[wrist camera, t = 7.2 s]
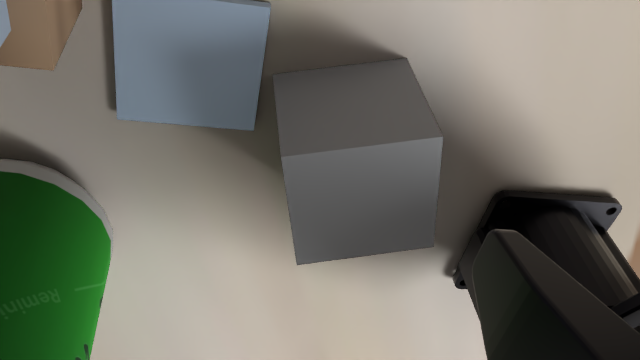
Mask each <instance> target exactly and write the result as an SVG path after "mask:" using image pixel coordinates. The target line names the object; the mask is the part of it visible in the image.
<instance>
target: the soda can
mask: <svg viewBox="0 0 640 360" xmlns="http://www.w3.org/2000/svg"><path fill="white" fill-rule="evenodd" d="M112 249H113V229H112V226H111V224H110V222H109V220H108V217H107V215H106V213H105V211H104V209H103V208H102V207H101V206H100V205H99V204H98V202H97V201H96V200H95V199H94V198H93V197H92V196H91V195H90V194H89V193H88V192H87V191H86V190H85V189H84V188H82V187H81V186H79V185H78V184H77V183H76V182H75V181H73V180H71V179H70V178H68V177H66V176H65V175H63V174H61V173H60V172H58V171H57V170H55V169H52V168H49V167H46V166H43V165H40V164H37V163H34V162H31V161H22V160H13V159H0V360H90V355H91V350H92V345H93V341H94V336H95V331H96V327H97V322H98V317H99V312H100V308H101V303H102V298H103V293H104V289H105V284H106V279H107V274H108V270H109V265H110V260H111V255H112Z"/></svg>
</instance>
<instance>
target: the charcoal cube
mask: <svg viewBox="0 0 640 360" xmlns="http://www.w3.org/2000/svg"><path fill="white" fill-rule="evenodd" d="M273 84H274V94H275V104H276V114H277V124H278V133H279V143H280V153H281V161H282V168H283V175H284V181H285V188H286V195H287V202H288V209H289V215H290V222H291V229H292V236H293V243H294V249H295V256H296V263H297V265H302V264H309V263H317V262H324V261H332V260H339V259H347V258H354V257H361V256H369V255H376V254H384V253H391V252H399V251H406V250H413V249H421V248H428V247H434V236H435V225H436V213H437V202H438V191H439V180H440V168H441V157H442V146H443V135H442V133H441V131H440V128H439V126H438V124H437V122H436V120H435V118H434V116H433V113H432V111H431V109H430V107H429V105H428V103H427V100H426V98H425V96H424V94H423V92H422V90H421V88H420V85H419V83H418V81H417V79H416V77H415V75H414V73H413V70H412V68H411V66H410V64H409V62H408V60H407V58H403V59H395V60H386V61H378V62H370V63H362V64H353V65H345V66H337V67H329V68H320V69H312V70H304V71H296V72H287V73H279V74H273Z"/></svg>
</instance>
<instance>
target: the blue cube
mask: <svg viewBox="0 0 640 360" xmlns="http://www.w3.org/2000/svg"><path fill="white" fill-rule="evenodd" d="M10 31H11V26H10V20H9V15H8V9H7V3H6V0H0V47H1V45H2V44H3V42H4V41H5V39H6V38H7V36H8V34H9V33H10Z"/></svg>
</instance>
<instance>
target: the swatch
mask: <svg viewBox="0 0 640 360" xmlns="http://www.w3.org/2000/svg"><path fill="white" fill-rule="evenodd" d="M270 10H271V6H270V3H267V2H260V1H252V0H112V14H113V37H114V60H115V82H116V105H117V119H119V120H131V121H142V122H154V123H166V124H178V125H190V126H202V127H213V128H225V129H237V130H249V131H254V125H255V118H256V111H257V103H258V96H259V89H260V82H261V75H262V67H263V60H264V53H265V46H266V39H267V31H268V24H269V17H270Z"/></svg>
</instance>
